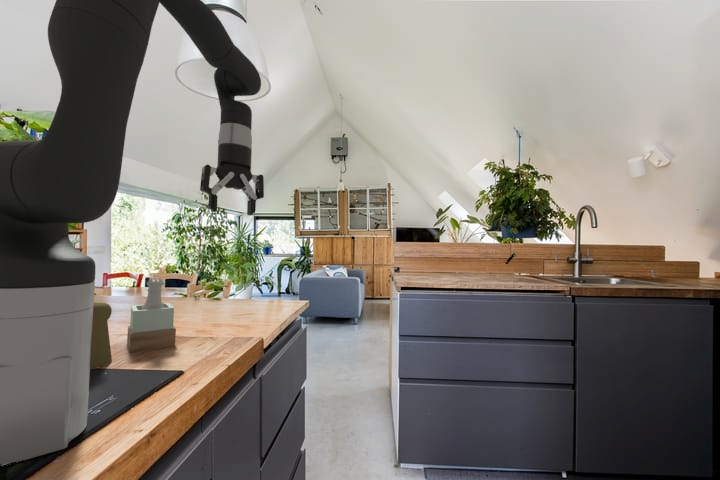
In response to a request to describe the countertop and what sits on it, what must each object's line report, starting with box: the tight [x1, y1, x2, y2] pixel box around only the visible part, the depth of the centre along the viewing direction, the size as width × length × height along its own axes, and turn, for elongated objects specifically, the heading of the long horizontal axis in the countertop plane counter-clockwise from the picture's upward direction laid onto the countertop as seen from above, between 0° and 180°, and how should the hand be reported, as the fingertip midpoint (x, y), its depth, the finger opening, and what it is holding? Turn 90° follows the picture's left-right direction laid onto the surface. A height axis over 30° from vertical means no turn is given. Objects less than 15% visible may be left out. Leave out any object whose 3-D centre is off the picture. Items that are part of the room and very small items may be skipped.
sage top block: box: [129, 302, 175, 333], centre depth 68 cm, size 7×7×4 cm
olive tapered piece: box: [90, 302, 113, 371], centre depth 56 cm, size 6×6×11 cm
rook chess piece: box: [141, 277, 165, 310], centre depth 68 cm, size 4×4×8 cm
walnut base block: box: [126, 325, 177, 354], centre depth 68 cm, size 8×8×4 cm
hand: (232, 213), depth 74 cm, fingers open, 8 cm apart
